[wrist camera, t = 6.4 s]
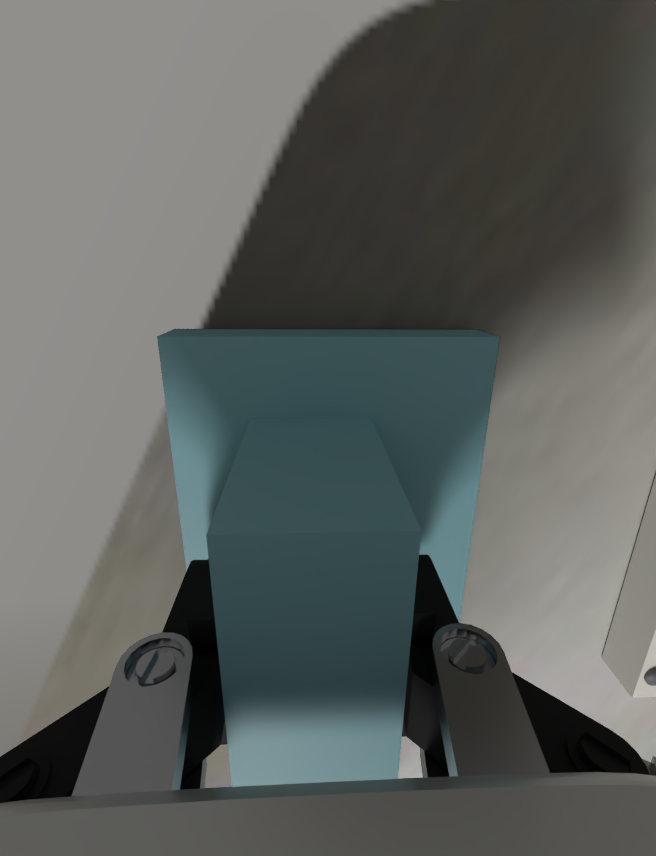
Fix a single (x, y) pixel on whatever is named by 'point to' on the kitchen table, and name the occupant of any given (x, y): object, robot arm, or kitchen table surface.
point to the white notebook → (637, 615)
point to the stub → (323, 524)
